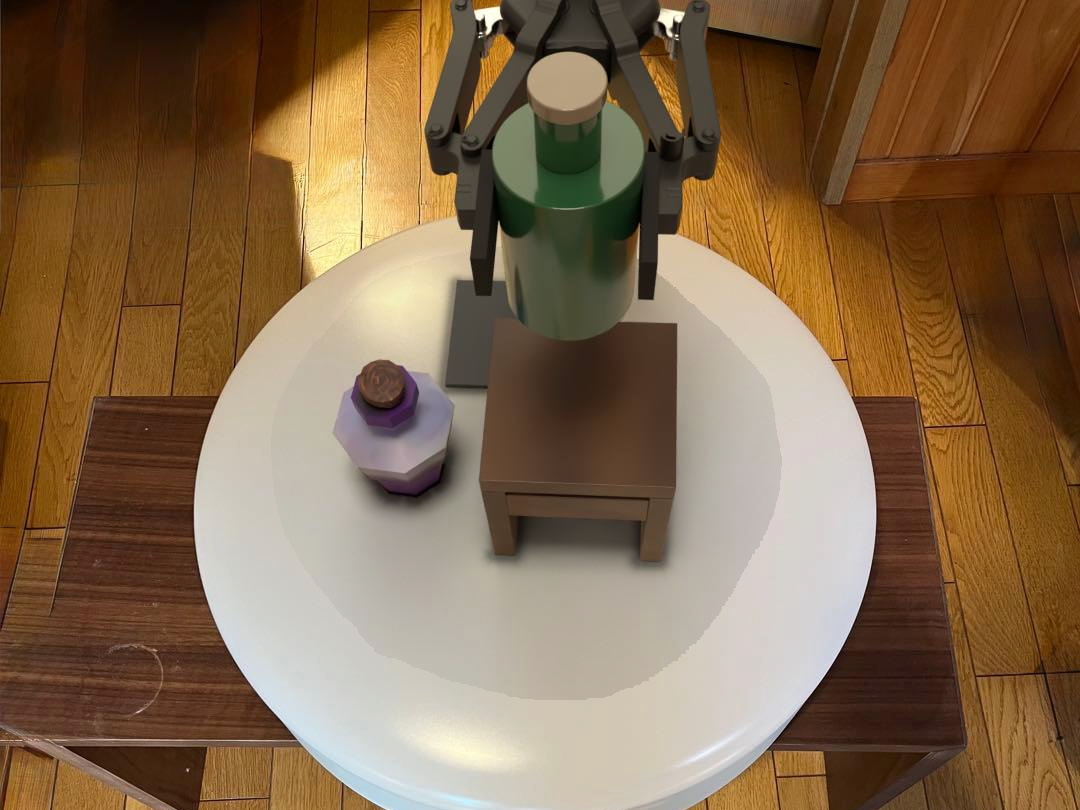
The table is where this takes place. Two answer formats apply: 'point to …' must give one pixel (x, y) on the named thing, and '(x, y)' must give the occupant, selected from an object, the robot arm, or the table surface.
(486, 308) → the felt mat
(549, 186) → the green bottle
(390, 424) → the potion bottle
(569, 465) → the walnut table
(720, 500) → the table surface
